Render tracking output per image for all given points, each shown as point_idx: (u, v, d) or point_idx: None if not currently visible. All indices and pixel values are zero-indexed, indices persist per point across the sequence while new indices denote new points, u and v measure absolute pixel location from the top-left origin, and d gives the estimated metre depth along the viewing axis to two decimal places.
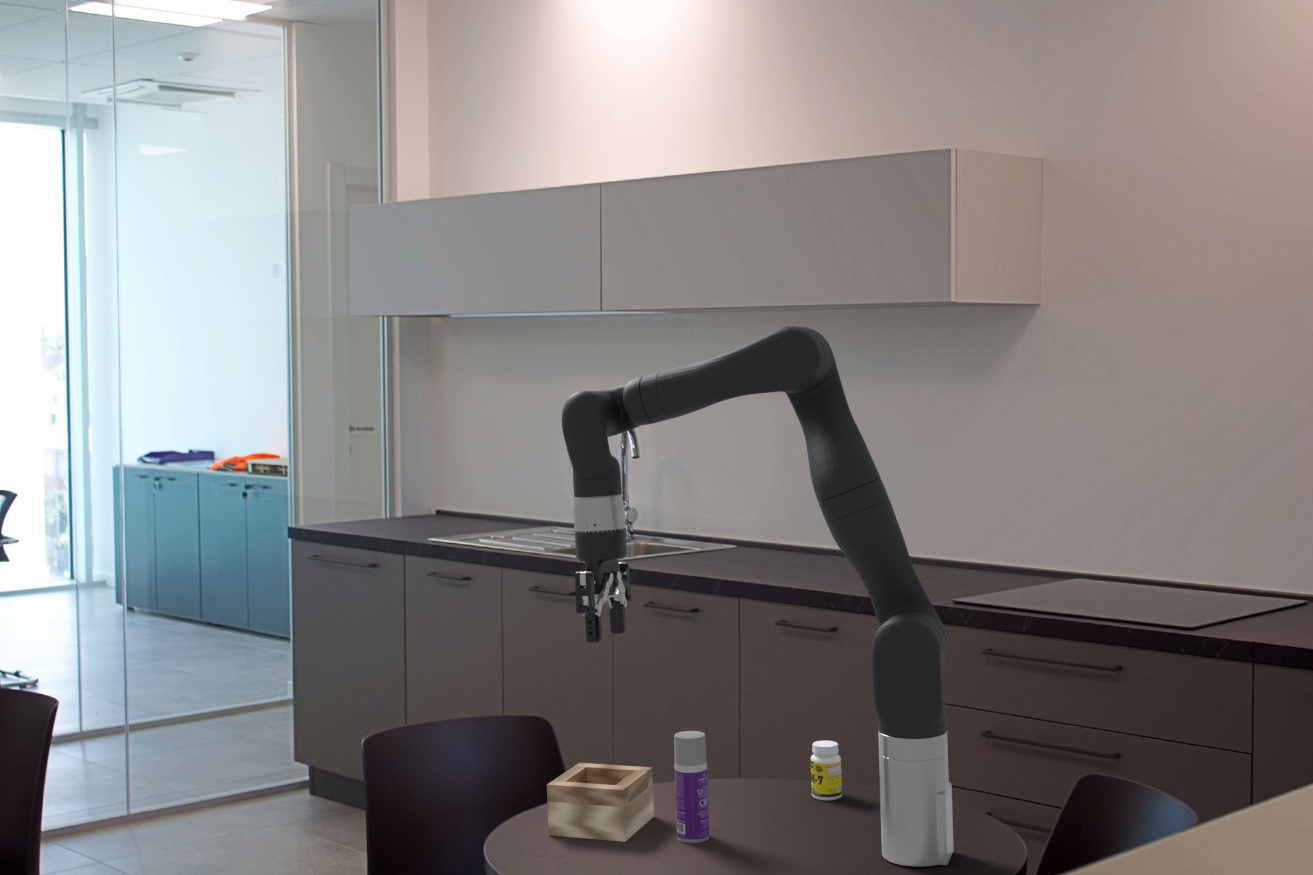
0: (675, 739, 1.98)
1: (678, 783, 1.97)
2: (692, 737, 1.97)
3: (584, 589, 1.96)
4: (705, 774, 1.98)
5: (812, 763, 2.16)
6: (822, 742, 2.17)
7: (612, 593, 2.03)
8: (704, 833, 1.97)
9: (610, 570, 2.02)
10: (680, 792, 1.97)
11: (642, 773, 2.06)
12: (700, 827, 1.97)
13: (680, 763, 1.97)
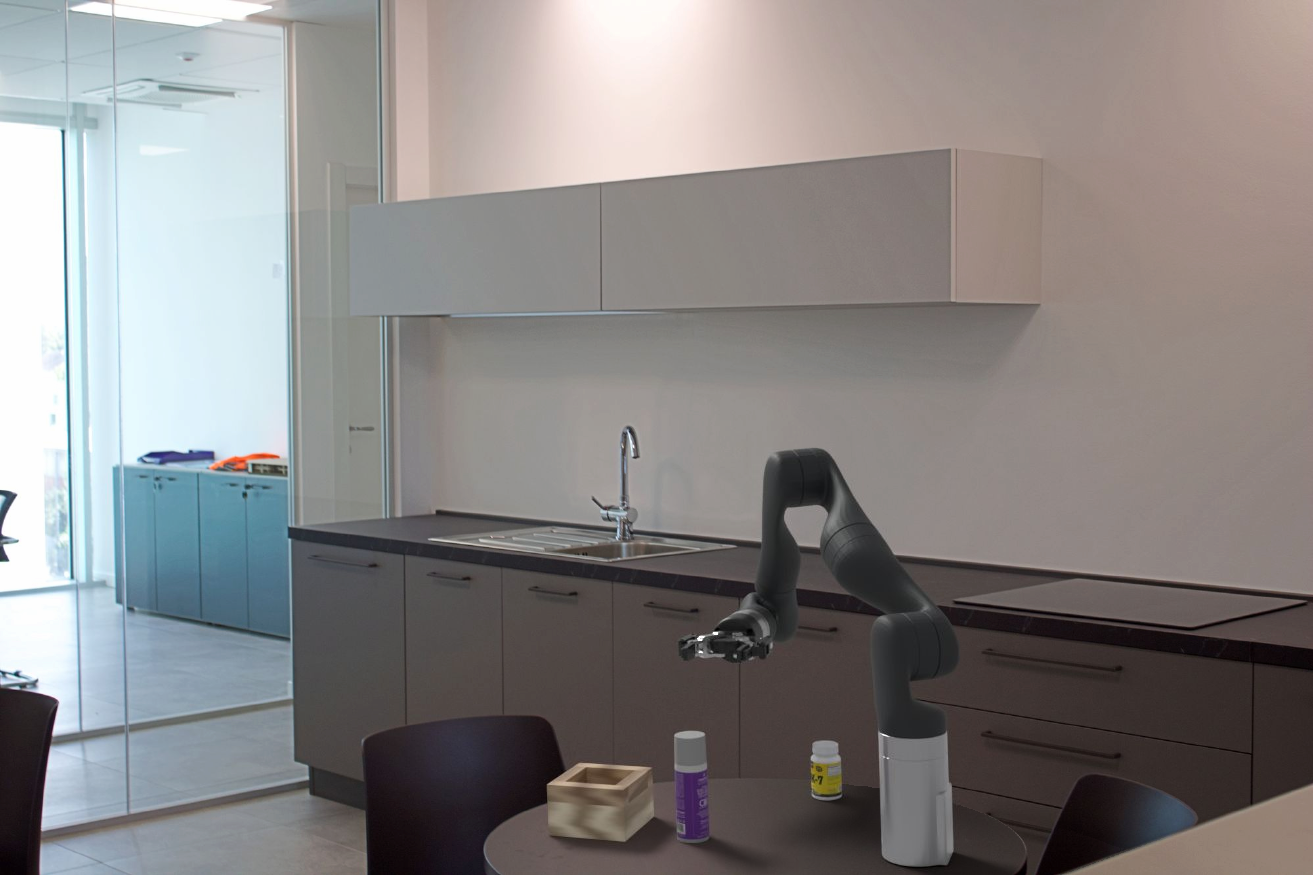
0: (675, 739, 1.98)
1: (679, 783, 1.97)
2: (692, 737, 1.97)
3: None
4: (705, 774, 1.98)
5: (812, 763, 2.16)
6: (822, 742, 2.17)
7: (728, 641, 2.15)
8: (704, 833, 1.97)
9: (732, 636, 2.18)
10: (680, 792, 1.97)
11: (642, 773, 2.06)
12: (700, 827, 1.97)
13: (680, 763, 1.97)
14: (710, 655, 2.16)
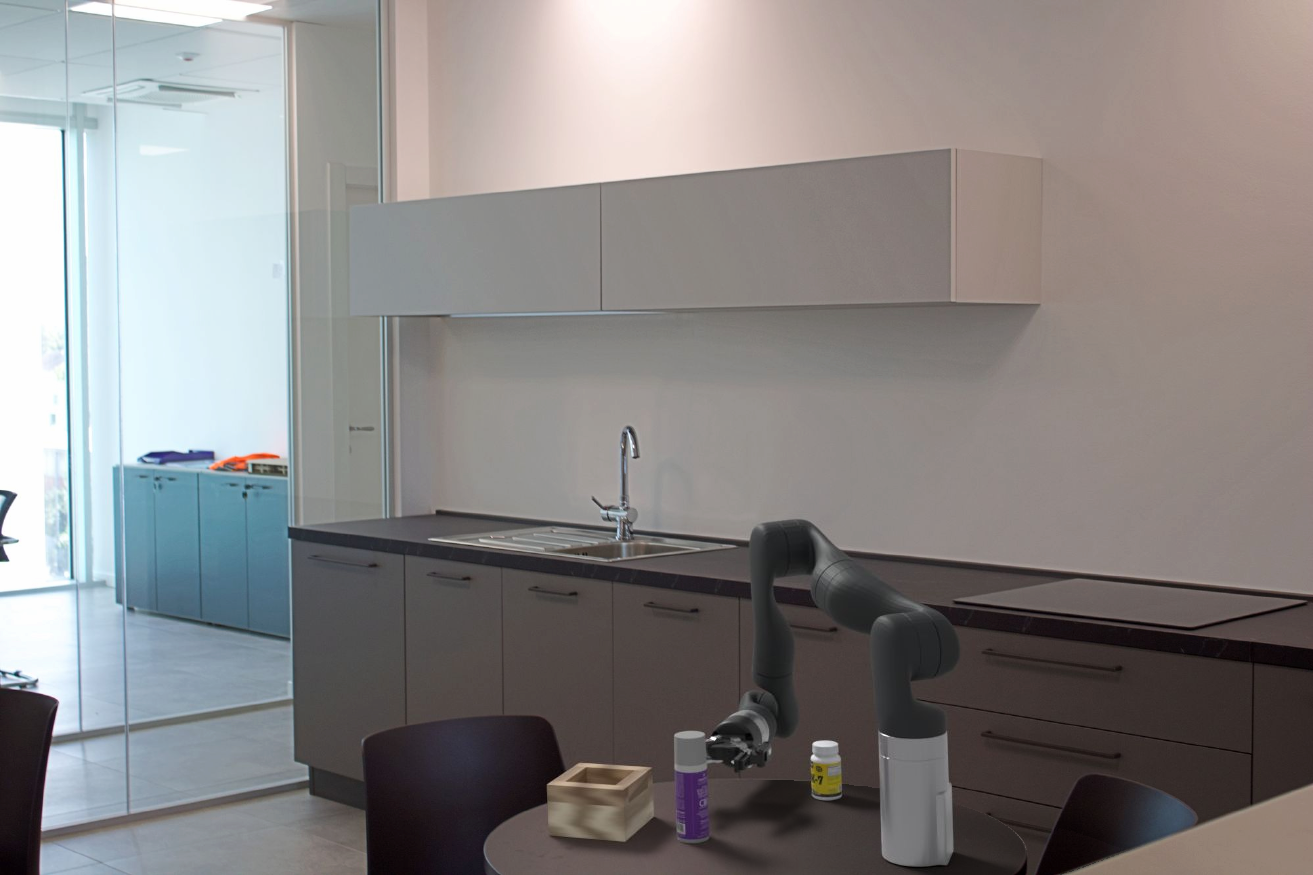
0: (675, 739, 1.98)
1: (678, 783, 1.97)
2: (692, 737, 1.97)
3: None
4: (705, 774, 1.98)
5: (812, 763, 2.16)
6: (822, 742, 2.17)
7: (726, 747, 2.12)
8: (704, 833, 1.97)
9: (730, 741, 2.15)
10: (680, 792, 1.97)
11: (642, 773, 2.06)
12: (700, 827, 1.97)
13: (680, 763, 1.97)
14: (708, 761, 2.13)
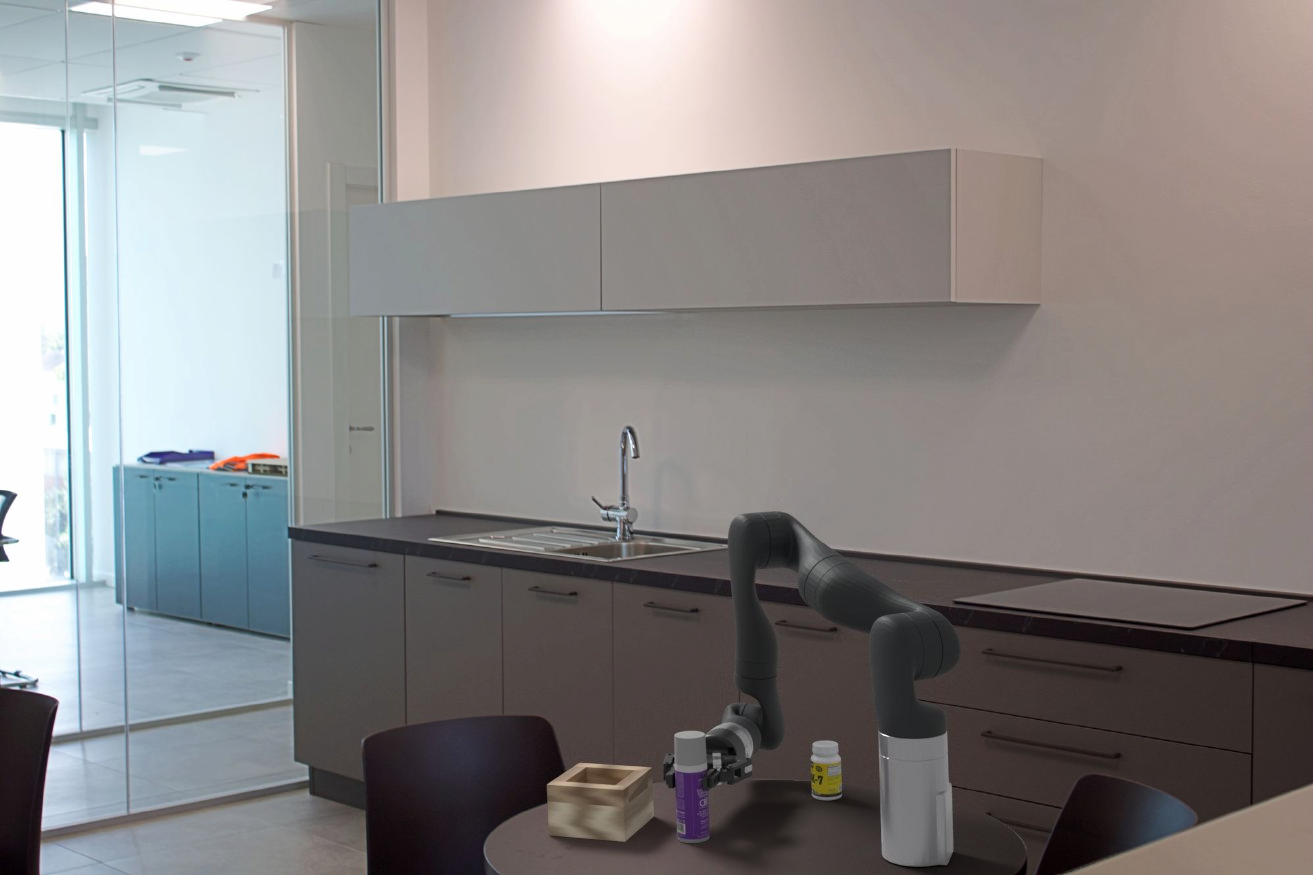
0: (675, 739, 1.98)
1: (679, 783, 1.97)
2: (692, 737, 1.97)
3: None
4: None
5: (812, 763, 2.16)
6: (822, 742, 2.17)
7: None
8: (704, 833, 1.97)
9: (712, 755, 2.07)
10: (680, 792, 1.97)
11: (642, 773, 2.06)
12: (701, 827, 1.97)
13: (680, 763, 1.97)
14: None
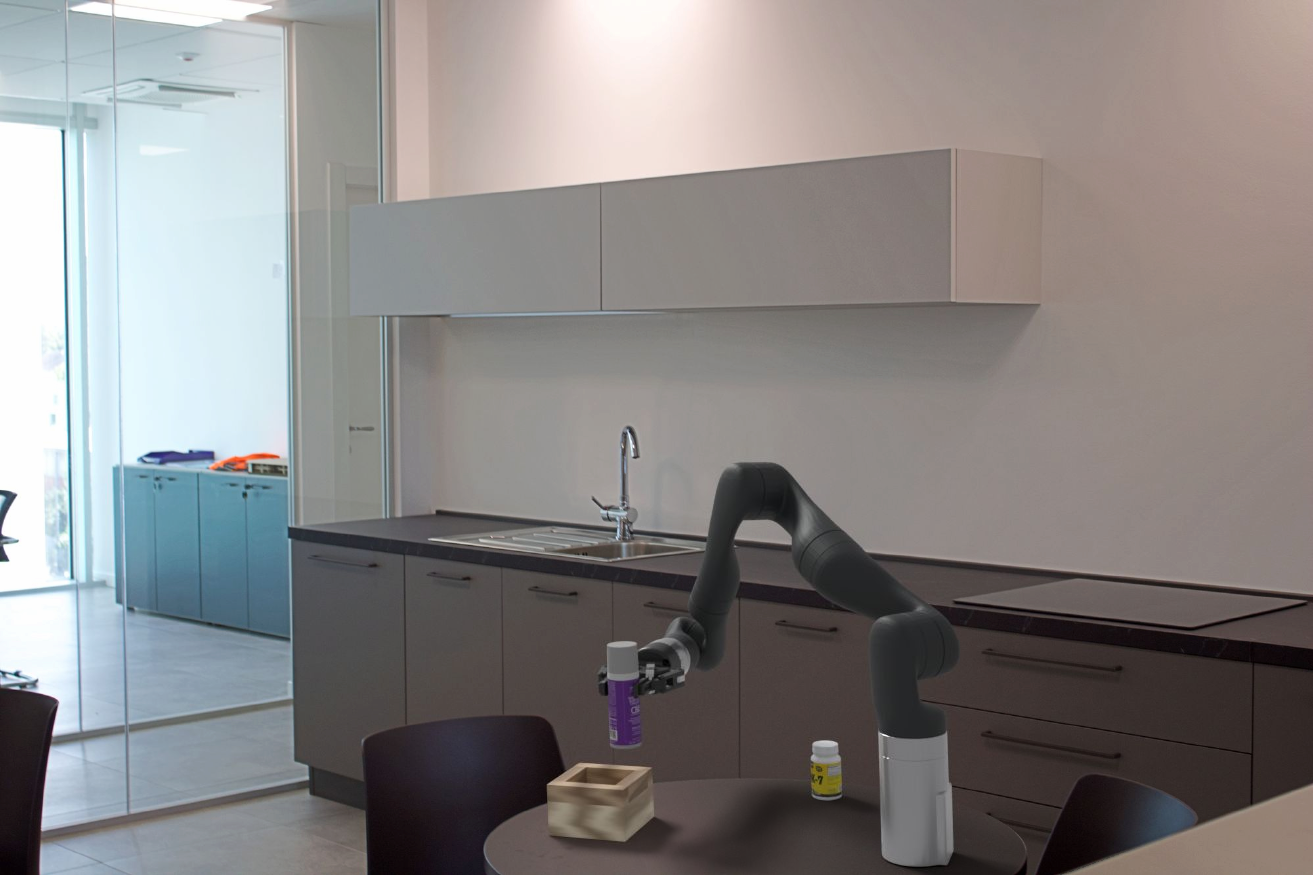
0: (607, 648, 2.03)
1: (611, 690, 2.02)
2: (624, 646, 2.02)
3: None
4: None
5: (812, 763, 2.16)
6: (822, 742, 2.17)
7: None
8: (636, 739, 2.03)
9: (646, 667, 2.12)
10: (612, 700, 2.02)
11: (642, 773, 2.06)
12: (632, 734, 2.02)
13: (612, 671, 2.02)
14: None
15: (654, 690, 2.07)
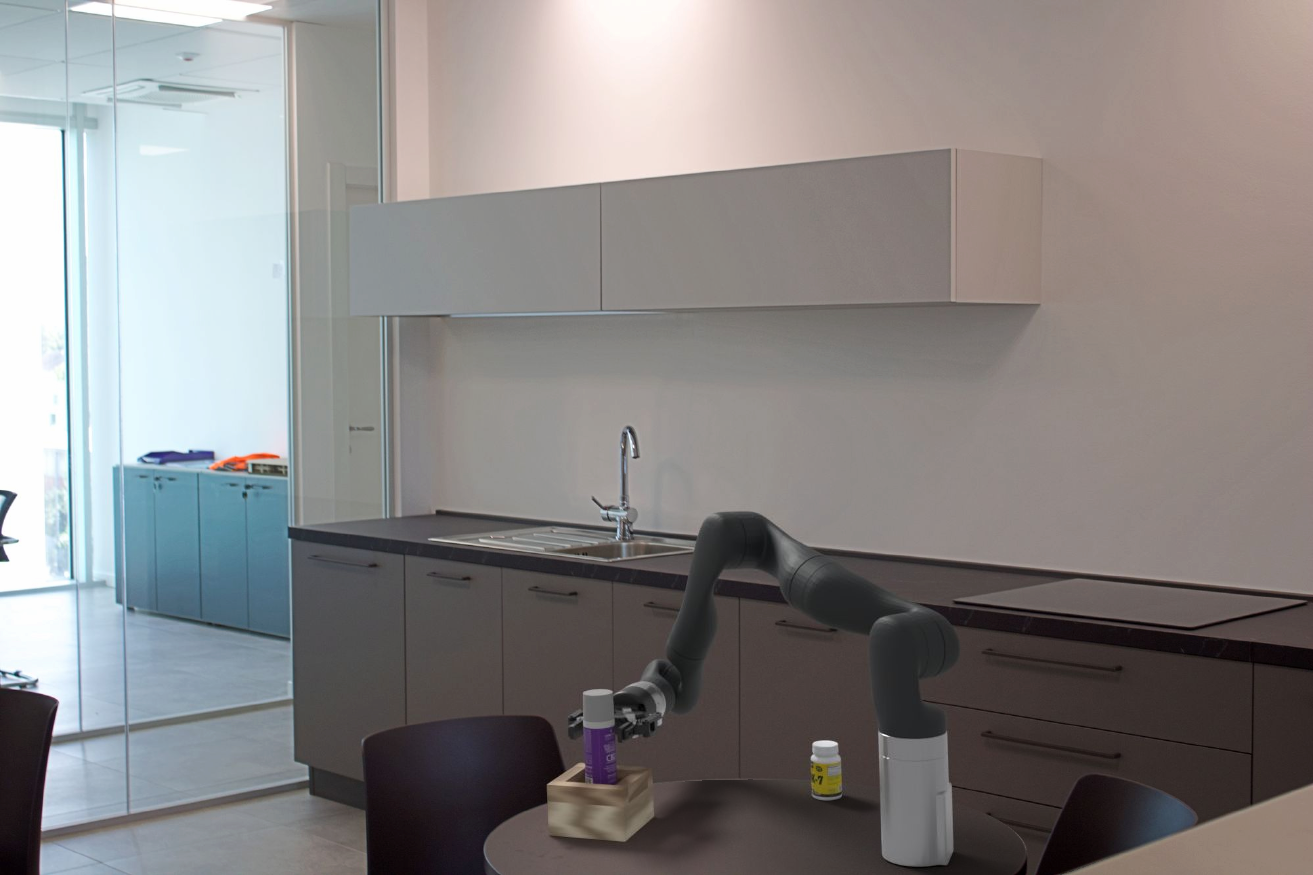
0: (583, 696, 2.05)
1: (586, 738, 2.04)
2: (599, 694, 2.04)
3: None
4: (612, 730, 2.05)
5: (812, 763, 2.16)
6: (822, 742, 2.17)
7: (615, 717, 2.11)
8: None
9: (622, 711, 2.14)
10: (588, 748, 2.04)
11: (642, 773, 2.06)
12: (607, 781, 2.04)
13: (588, 719, 2.04)
14: None
15: None
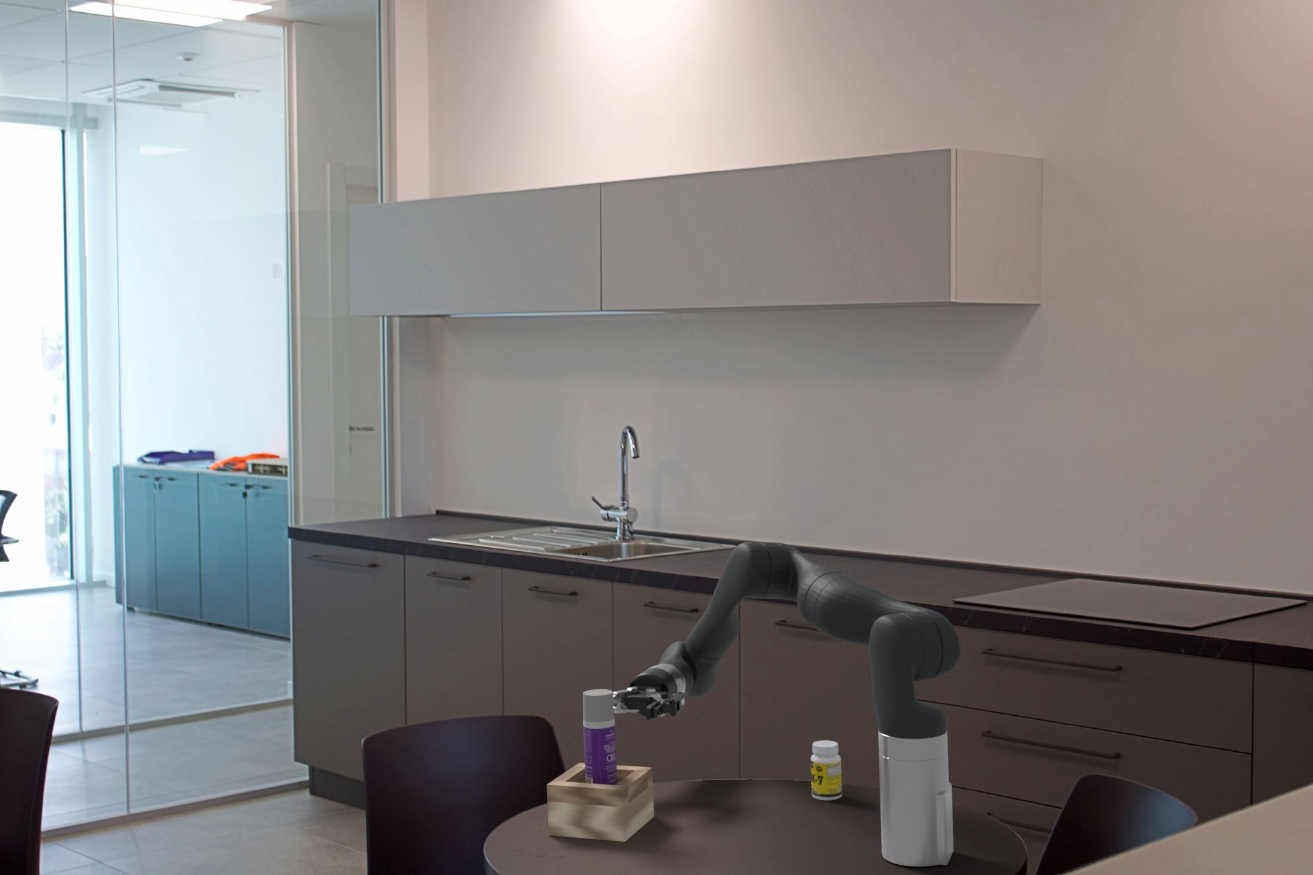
0: (583, 696, 2.05)
1: (586, 738, 2.04)
2: (599, 694, 2.04)
3: None
4: (612, 730, 2.05)
5: (812, 763, 2.16)
6: (822, 742, 2.17)
7: (641, 697, 2.21)
8: None
9: (645, 691, 2.25)
10: (588, 748, 2.04)
11: (642, 773, 2.06)
12: (607, 782, 2.04)
13: (588, 719, 2.04)
14: (624, 711, 2.23)
15: None
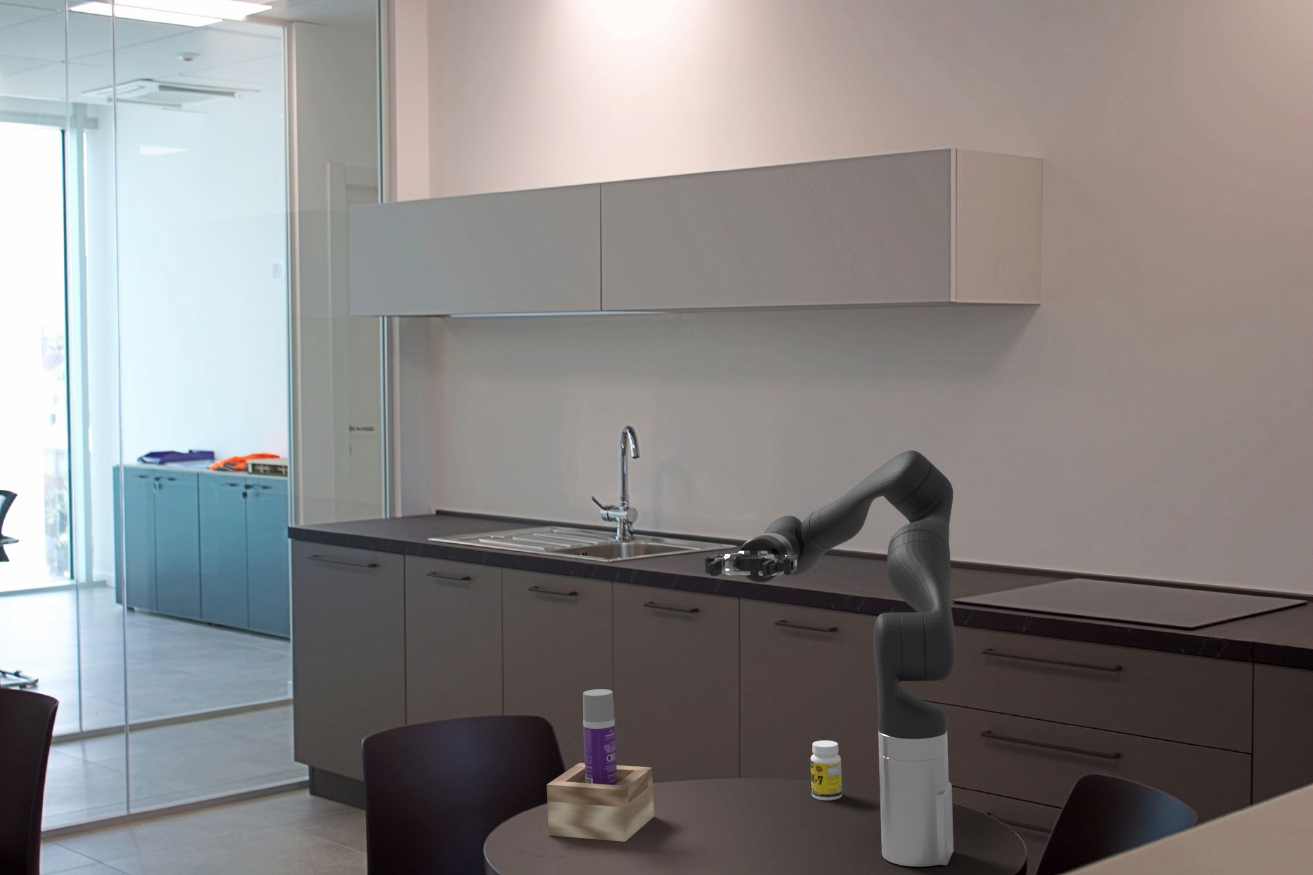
0: (583, 696, 2.05)
1: (586, 738, 2.04)
2: (599, 694, 2.04)
3: None
4: (612, 730, 2.05)
5: (812, 763, 2.16)
6: (822, 742, 2.17)
7: (754, 558, 2.22)
8: None
9: (757, 555, 2.25)
10: (588, 748, 2.04)
11: (642, 773, 2.06)
12: (607, 782, 2.04)
13: (588, 719, 2.04)
14: (736, 573, 2.23)
15: None
